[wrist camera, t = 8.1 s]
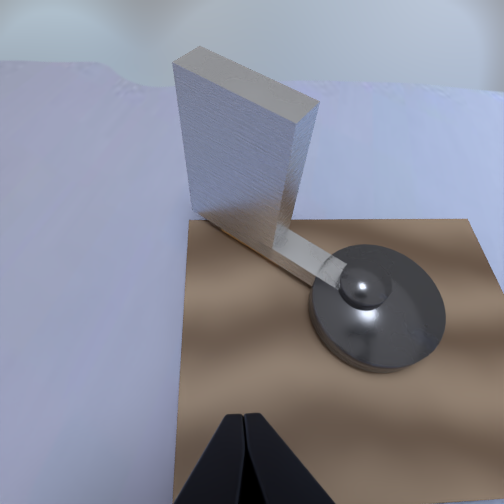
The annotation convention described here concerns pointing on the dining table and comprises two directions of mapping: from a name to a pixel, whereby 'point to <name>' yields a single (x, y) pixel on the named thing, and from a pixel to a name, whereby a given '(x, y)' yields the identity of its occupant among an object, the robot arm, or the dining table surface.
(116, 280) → the dining table surface
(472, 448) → the walnut stand plate
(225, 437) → the robot arm
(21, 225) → the dining table surface
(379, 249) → the lever
